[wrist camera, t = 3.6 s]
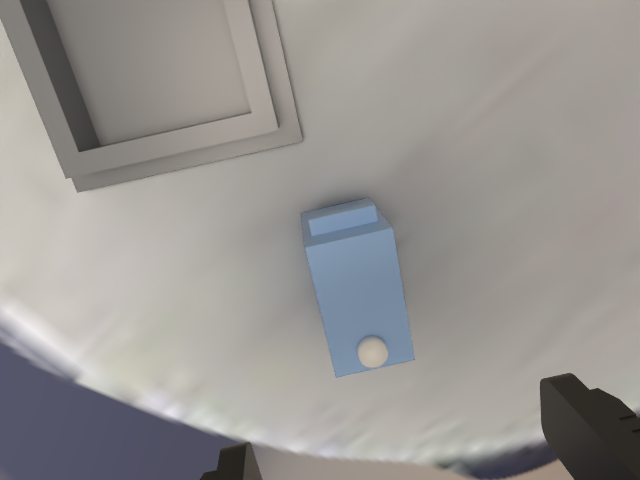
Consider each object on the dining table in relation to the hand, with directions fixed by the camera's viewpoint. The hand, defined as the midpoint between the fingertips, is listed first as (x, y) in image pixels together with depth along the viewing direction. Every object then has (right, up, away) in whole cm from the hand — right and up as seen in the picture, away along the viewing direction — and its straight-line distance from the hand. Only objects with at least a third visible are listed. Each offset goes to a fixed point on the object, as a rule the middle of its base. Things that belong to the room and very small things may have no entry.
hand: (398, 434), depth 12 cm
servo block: (-1, +4, +15) cm, 15 cm away
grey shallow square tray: (-10, +15, +10) cm, 21 cm away
